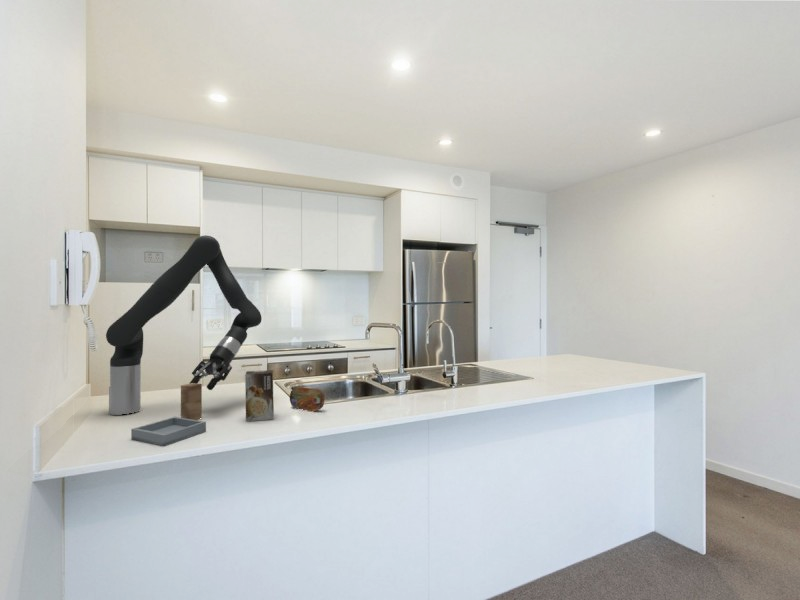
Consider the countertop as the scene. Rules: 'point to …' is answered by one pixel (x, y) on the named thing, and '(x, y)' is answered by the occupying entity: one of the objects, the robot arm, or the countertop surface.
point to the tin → (307, 398)
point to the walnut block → (191, 401)
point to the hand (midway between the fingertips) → (199, 387)
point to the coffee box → (259, 395)
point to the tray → (168, 431)
